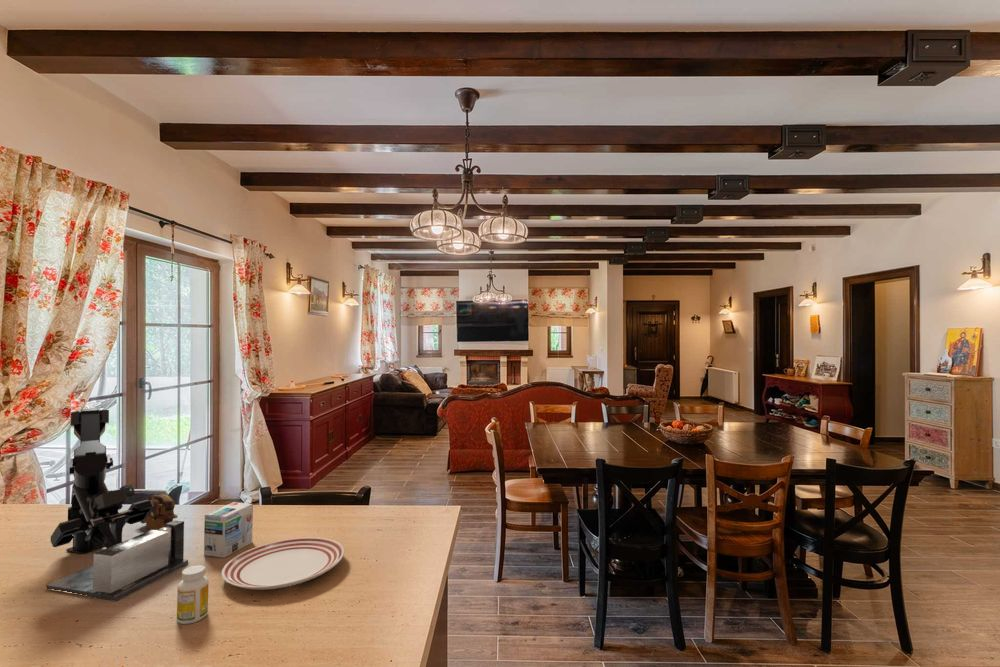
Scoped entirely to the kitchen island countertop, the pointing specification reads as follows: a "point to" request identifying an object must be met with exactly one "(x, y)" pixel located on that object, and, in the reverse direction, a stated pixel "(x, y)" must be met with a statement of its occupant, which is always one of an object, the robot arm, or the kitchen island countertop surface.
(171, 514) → the wooden carving
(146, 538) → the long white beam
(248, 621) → the kitchen island countertop surface
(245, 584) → the dinner plate
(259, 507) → the kitchen island countertop surface
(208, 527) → the light bulb box
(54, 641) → the kitchen island countertop surface
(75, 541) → the robot arm
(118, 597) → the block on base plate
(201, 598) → the supplement bottle
